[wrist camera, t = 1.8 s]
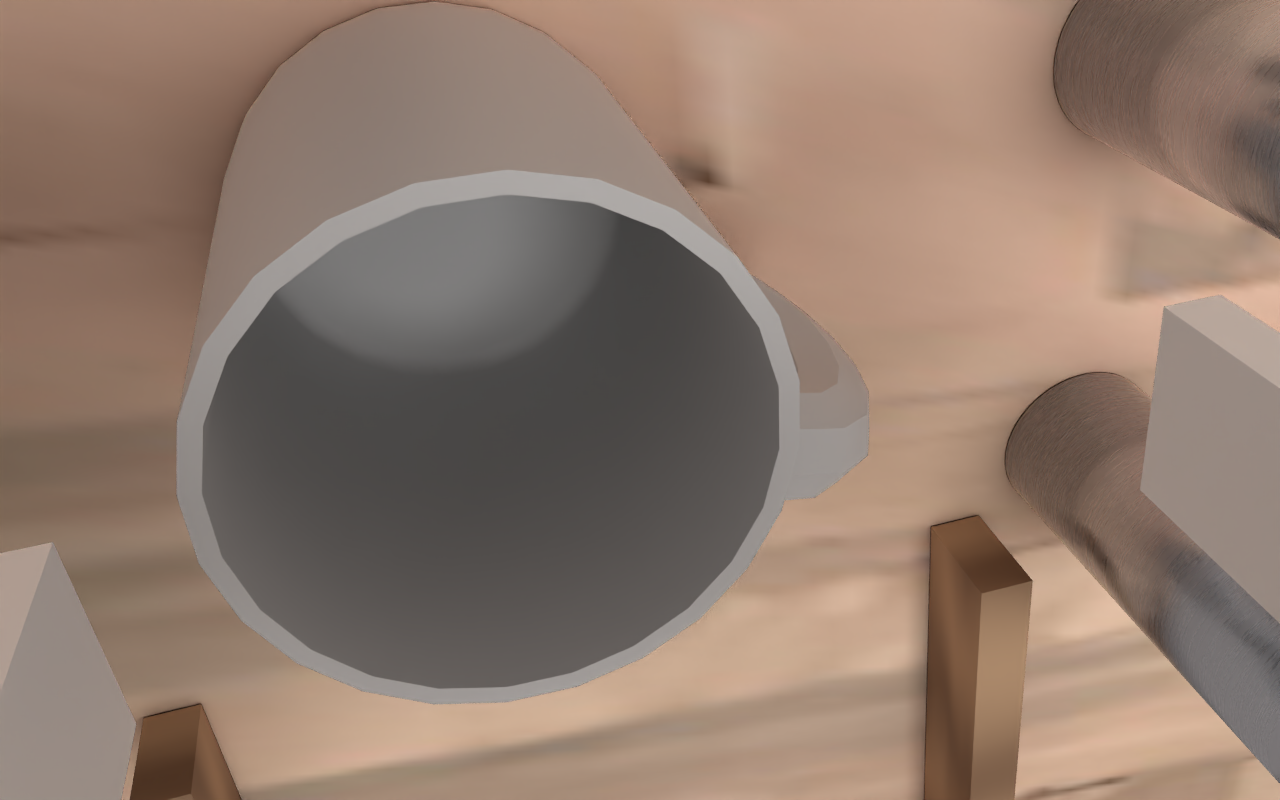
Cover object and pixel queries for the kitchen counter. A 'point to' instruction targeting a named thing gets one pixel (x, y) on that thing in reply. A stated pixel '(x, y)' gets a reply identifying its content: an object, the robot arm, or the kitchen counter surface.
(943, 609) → the bay
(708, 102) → the kitchen counter surface
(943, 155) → the kitchen counter surface
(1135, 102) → the spacers
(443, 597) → the cup
